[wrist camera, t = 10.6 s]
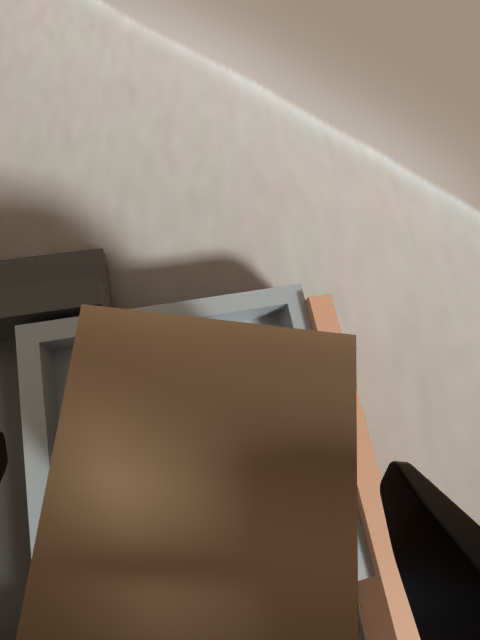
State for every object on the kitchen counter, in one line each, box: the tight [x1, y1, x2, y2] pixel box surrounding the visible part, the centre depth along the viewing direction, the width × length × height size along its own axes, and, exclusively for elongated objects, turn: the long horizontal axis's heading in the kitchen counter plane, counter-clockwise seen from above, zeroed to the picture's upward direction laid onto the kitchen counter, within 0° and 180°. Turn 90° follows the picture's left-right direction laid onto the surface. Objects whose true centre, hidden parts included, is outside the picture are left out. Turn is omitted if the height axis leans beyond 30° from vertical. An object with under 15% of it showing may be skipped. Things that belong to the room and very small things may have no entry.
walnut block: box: [16, 304, 358, 640], centre depth 12 cm, size 6×6×10 cm
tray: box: [15, 284, 421, 640], centre depth 15 cm, size 23×13×3 cm, turn 11°
